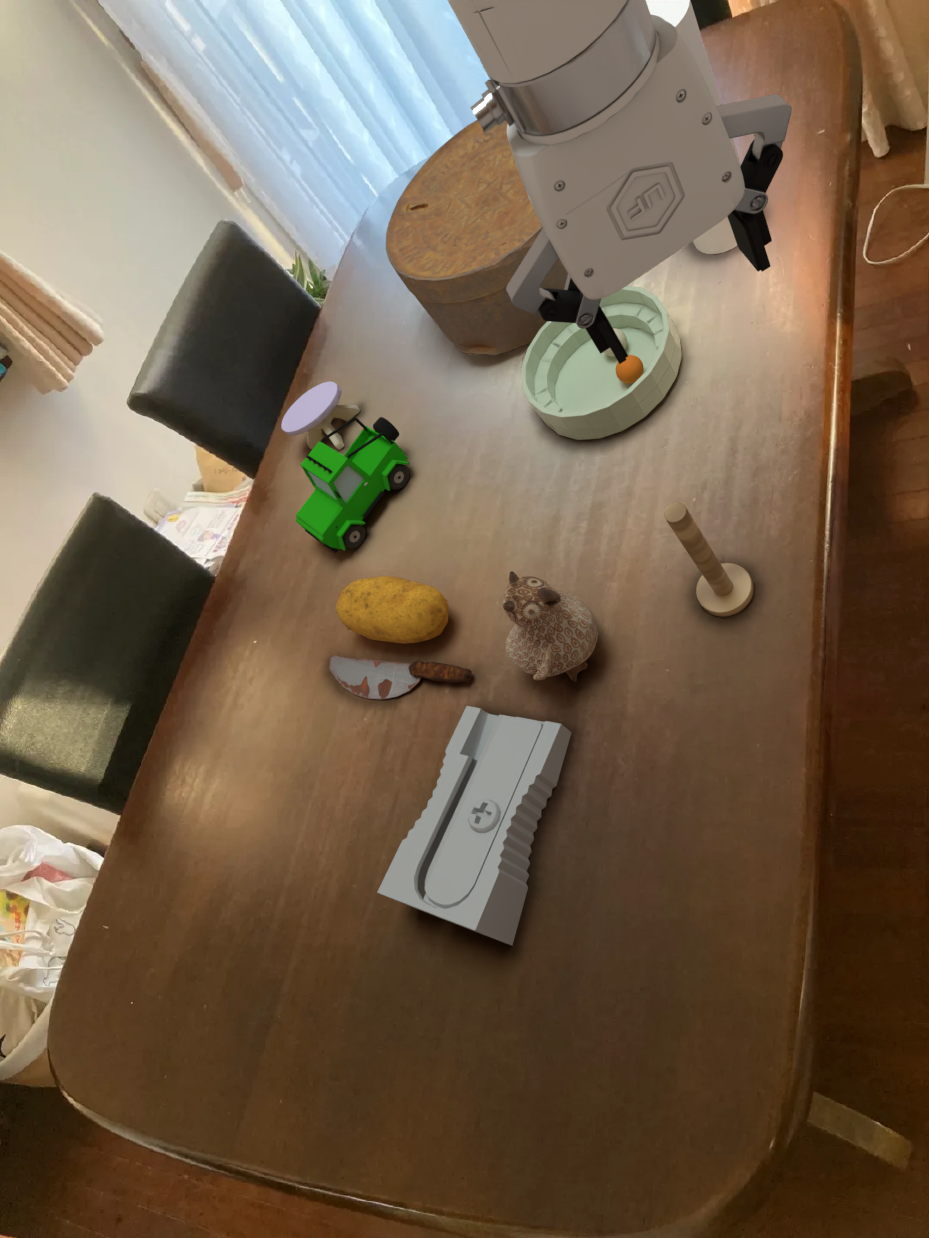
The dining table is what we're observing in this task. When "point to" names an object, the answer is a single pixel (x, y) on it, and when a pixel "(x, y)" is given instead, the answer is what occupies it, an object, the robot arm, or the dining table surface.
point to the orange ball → (629, 369)
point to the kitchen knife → (390, 675)
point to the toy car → (350, 484)
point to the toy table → (318, 414)
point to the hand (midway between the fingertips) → (683, 304)
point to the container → (469, 241)
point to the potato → (393, 609)
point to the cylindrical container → (677, 10)
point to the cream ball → (621, 337)
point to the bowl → (602, 368)
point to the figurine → (547, 628)
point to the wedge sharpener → (480, 824)
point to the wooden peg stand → (710, 567)
